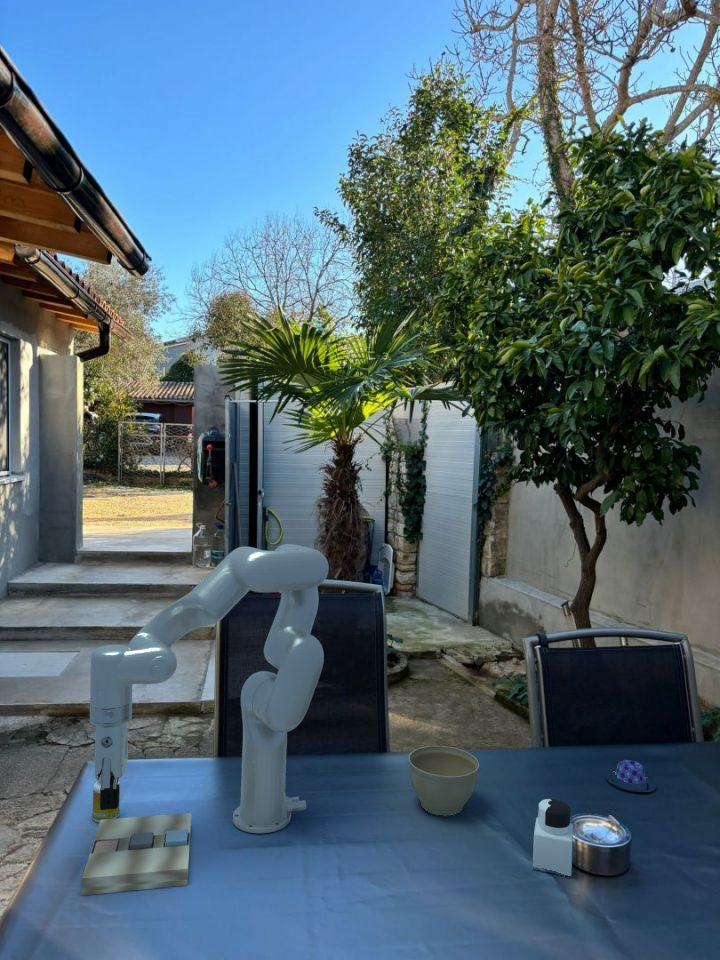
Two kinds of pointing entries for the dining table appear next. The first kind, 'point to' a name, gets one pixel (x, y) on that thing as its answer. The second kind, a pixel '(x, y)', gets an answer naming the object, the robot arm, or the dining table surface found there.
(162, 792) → the dining table surface
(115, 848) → the key pink
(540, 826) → the medicine bottle
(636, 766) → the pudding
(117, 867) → the keypad
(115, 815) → the supplement bottle
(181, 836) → the key blue
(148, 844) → the key charcoal
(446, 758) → the planter bowl
